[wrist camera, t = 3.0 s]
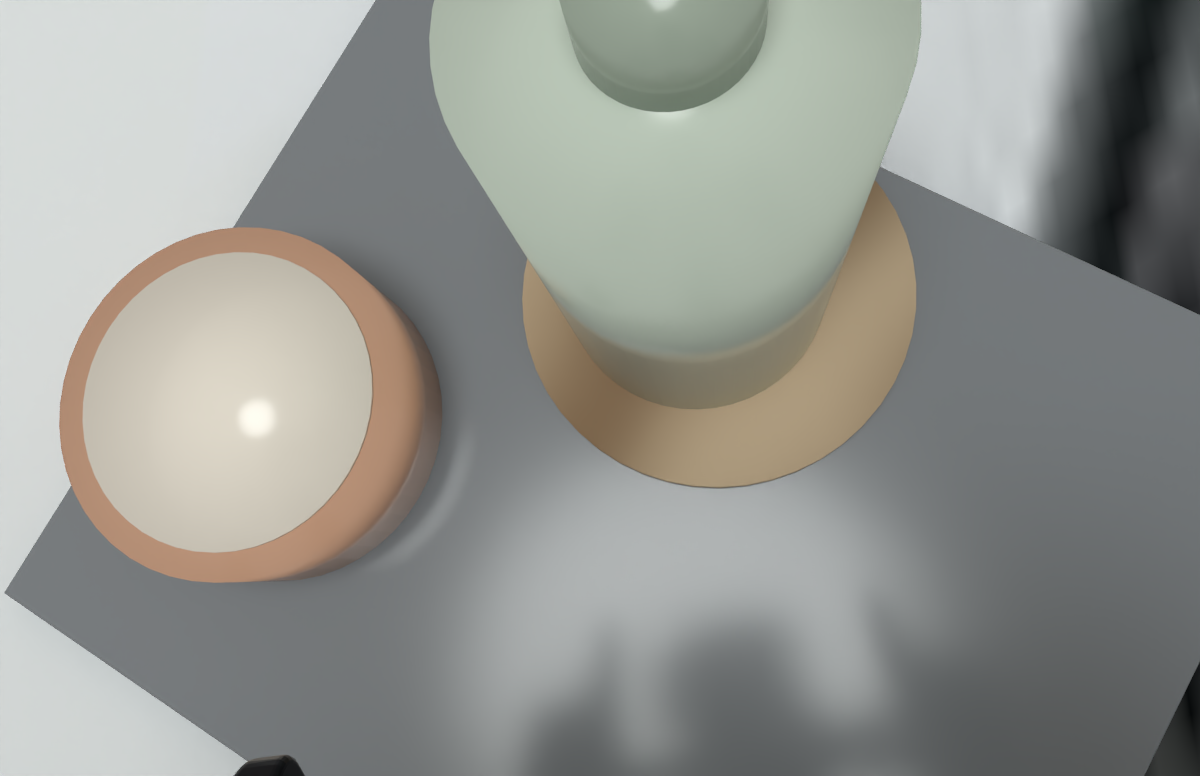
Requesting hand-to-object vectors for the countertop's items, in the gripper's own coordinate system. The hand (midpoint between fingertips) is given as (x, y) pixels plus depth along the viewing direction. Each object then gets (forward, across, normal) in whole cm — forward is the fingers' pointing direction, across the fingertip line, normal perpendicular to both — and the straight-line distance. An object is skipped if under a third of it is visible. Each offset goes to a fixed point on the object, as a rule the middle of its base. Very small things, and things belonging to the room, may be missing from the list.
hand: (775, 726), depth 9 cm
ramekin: (+14, +10, +5) cm, 18 cm away
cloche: (+15, 0, +3) cm, 15 cm away
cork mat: (+15, 0, +4) cm, 15 cm away
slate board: (+12, +2, +7) cm, 14 cm away
